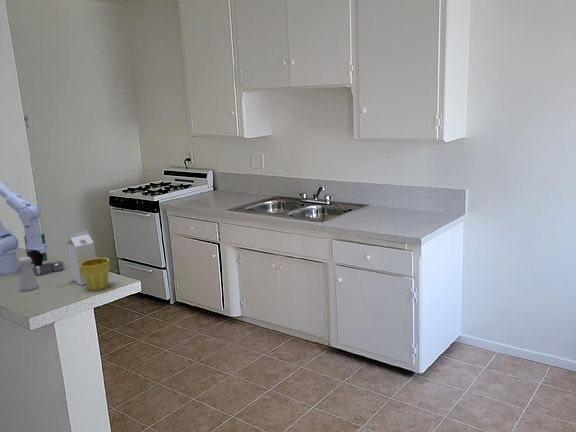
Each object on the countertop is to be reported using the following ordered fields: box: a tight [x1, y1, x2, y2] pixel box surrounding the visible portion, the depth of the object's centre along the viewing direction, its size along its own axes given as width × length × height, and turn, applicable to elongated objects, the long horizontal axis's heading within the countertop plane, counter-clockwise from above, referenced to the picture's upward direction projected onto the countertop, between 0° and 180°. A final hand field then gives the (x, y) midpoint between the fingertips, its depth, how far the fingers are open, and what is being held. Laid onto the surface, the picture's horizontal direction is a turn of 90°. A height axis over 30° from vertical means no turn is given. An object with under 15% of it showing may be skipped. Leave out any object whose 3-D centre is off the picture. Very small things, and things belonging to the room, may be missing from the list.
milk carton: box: [66, 230, 97, 286], centre depth 203 cm, size 7×7×19 cm
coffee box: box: [23, 232, 49, 265], centre depth 234 cm, size 8×3×13 cm, turn 110°
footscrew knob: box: [34, 260, 65, 277], centre depth 215 cm, size 11×5×4 cm, turn 138°
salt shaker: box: [17, 256, 39, 292], centre depth 195 cm, size 6×6×13 cm
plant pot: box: [79, 257, 111, 291], centre depth 196 cm, size 10×10×10 cm
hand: (38, 268), depth 217 cm, fingers closed
